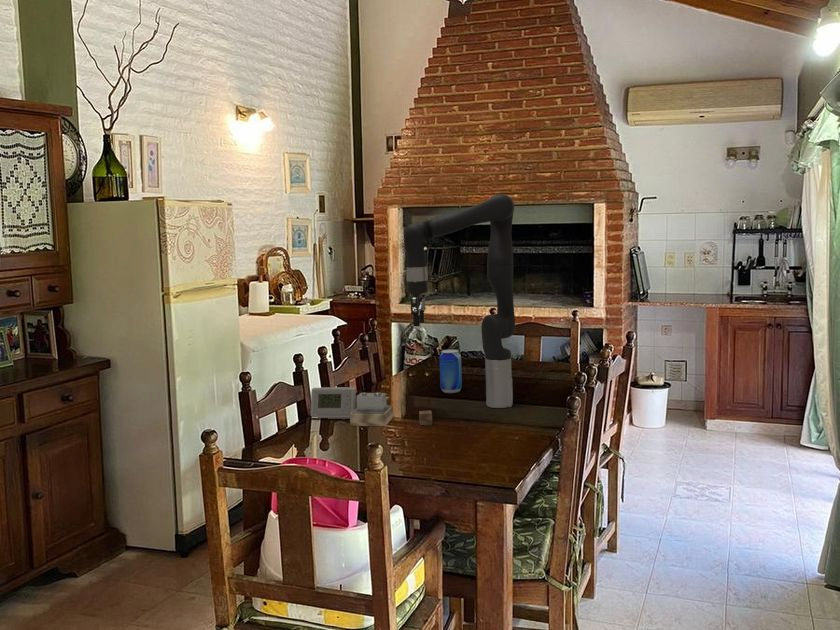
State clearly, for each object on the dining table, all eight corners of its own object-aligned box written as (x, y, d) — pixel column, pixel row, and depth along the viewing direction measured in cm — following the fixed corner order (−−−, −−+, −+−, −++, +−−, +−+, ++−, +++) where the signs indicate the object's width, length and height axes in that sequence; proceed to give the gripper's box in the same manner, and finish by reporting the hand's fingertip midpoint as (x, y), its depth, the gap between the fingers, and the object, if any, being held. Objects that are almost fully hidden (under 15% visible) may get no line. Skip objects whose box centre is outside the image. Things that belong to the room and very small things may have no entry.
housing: (361, 407, 268) (360, 391, 267) (386, 407, 266) (386, 391, 265) (357, 410, 263) (356, 394, 262) (382, 411, 261) (381, 394, 260)
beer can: (437, 392, 303) (436, 352, 301) (445, 388, 311) (443, 348, 309) (457, 394, 300) (456, 353, 298) (464, 389, 308) (463, 349, 306)
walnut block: (431, 422, 261) (430, 410, 261) (432, 425, 257) (431, 413, 257) (419, 422, 261) (419, 411, 261) (420, 425, 257) (419, 414, 257)
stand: (393, 416, 269) (393, 405, 269) (385, 426, 258) (384, 413, 257) (360, 416, 272) (359, 404, 271) (350, 425, 260) (349, 413, 260)
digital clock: (307, 420, 270) (306, 390, 269) (319, 413, 279) (318, 384, 277) (350, 422, 265) (348, 392, 263) (361, 415, 273) (359, 386, 272)
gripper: (410, 278, 285) (412, 321, 287) (402, 281, 272) (404, 327, 274) (431, 277, 284) (432, 321, 286) (423, 281, 270) (425, 327, 272)
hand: (418, 324), depth 280 cm, fingers open, 8 cm apart
